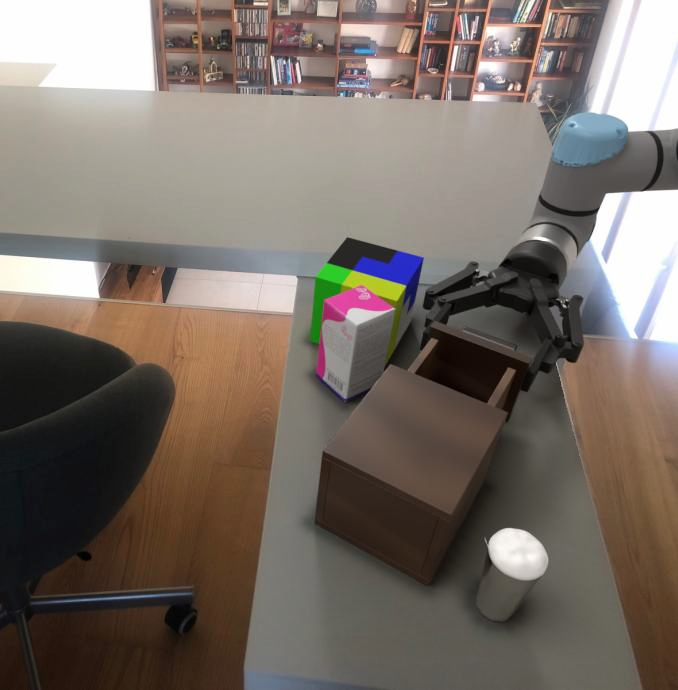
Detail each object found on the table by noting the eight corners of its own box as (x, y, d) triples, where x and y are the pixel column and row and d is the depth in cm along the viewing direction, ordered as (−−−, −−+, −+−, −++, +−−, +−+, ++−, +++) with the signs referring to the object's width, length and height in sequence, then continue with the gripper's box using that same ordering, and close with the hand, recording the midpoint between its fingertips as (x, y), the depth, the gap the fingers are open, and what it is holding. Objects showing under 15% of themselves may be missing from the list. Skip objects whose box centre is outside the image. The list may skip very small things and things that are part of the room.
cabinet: (376, 436, 76) (390, 363, 69) (481, 485, 71) (508, 412, 64) (313, 523, 68) (322, 450, 61) (427, 586, 62) (451, 515, 55)
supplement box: (383, 384, 82) (397, 308, 75) (344, 404, 80) (355, 327, 73) (351, 357, 86) (362, 282, 79) (313, 375, 84) (321, 299, 76)
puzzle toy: (410, 321, 91) (423, 257, 85) (385, 366, 85) (396, 301, 78) (339, 299, 95) (347, 237, 89) (310, 341, 89) (315, 276, 82)
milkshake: (452, 580, 63) (477, 514, 56) (512, 581, 63) (544, 515, 56) (464, 628, 59) (492, 564, 53) (528, 630, 59) (563, 565, 53)
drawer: (436, 357, 84) (451, 298, 79) (524, 391, 80) (546, 332, 74) (372, 446, 74) (383, 386, 68) (469, 492, 69) (490, 432, 63)
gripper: (623, 321, 85) (574, 430, 72) (443, 262, 96) (372, 348, 82) (646, 270, 81) (599, 378, 67) (454, 214, 91) (380, 297, 78)
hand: (474, 361), depth 75 cm, fingers closed on drawer, 11 cm apart
